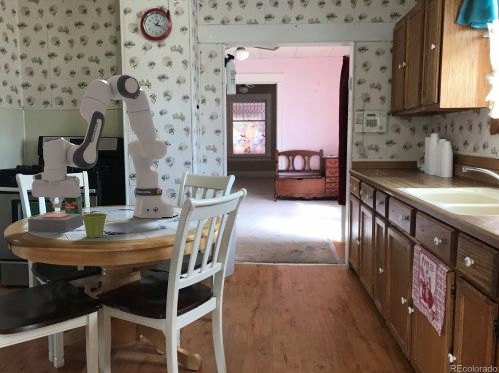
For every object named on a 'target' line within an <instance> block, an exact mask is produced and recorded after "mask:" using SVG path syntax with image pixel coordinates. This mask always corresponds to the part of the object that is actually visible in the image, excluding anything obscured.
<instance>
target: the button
mask: <svg viewBox="0 0 499 373" xmlns="http://www.w3.org/2000/svg"><path fill="white" fill-rule="evenodd" d="M67 216H70V214H50V215H46V216H43V218H64V217H67Z"/></svg>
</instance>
